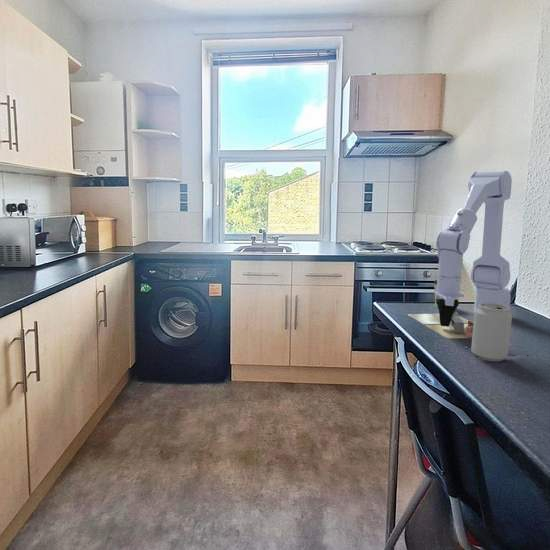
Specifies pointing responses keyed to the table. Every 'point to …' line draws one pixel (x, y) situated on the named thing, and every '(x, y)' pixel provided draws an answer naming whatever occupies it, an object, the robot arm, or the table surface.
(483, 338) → the can
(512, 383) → the table surface
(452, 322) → the latch
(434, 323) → the board
